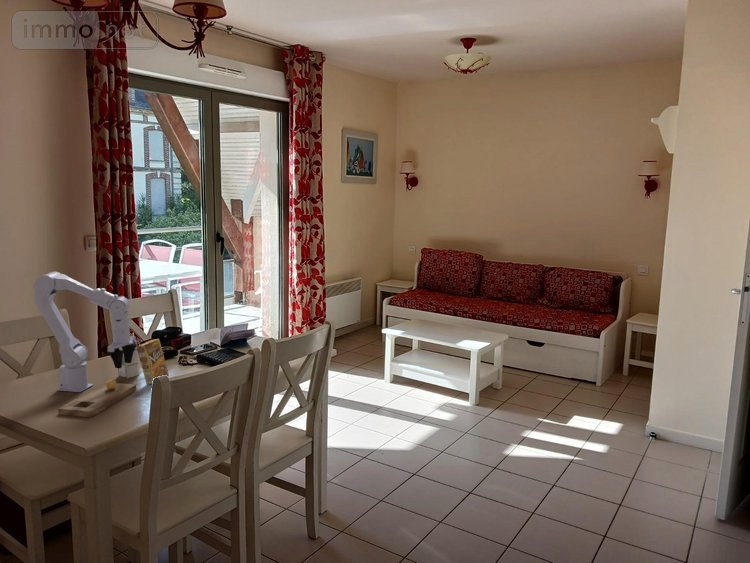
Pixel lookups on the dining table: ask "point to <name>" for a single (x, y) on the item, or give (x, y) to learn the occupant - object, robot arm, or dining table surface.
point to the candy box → (152, 360)
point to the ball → (111, 384)
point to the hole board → (96, 400)
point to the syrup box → (129, 366)
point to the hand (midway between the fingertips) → (123, 365)
